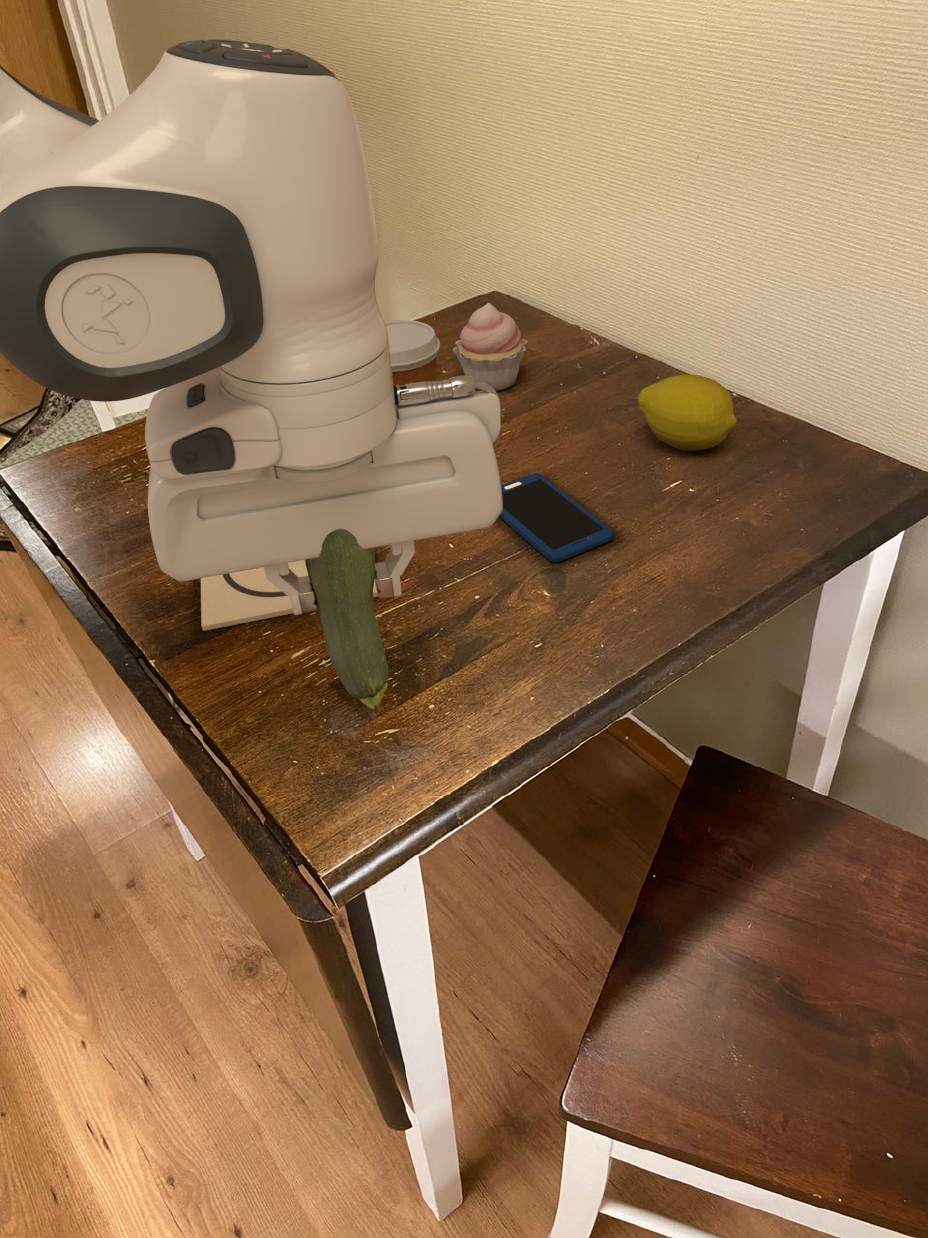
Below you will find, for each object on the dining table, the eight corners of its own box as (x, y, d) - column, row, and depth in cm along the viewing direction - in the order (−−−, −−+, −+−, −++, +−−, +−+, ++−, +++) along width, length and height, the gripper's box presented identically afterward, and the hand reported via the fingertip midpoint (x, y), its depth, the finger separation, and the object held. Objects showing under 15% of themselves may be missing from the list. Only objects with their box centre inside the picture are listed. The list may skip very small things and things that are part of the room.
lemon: (746, 444, 97) (757, 376, 92) (710, 475, 93) (720, 405, 88) (661, 417, 103) (666, 352, 98) (623, 445, 98) (627, 378, 93)
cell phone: (537, 476, 94) (536, 470, 94) (617, 539, 85) (617, 532, 84) (478, 498, 92) (477, 492, 91) (554, 565, 82) (554, 559, 82)
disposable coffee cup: (351, 447, 102) (335, 348, 94) (389, 410, 108) (377, 314, 101) (425, 460, 99) (415, 358, 91) (460, 421, 105) (453, 323, 97)
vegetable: (326, 705, 61) (261, 450, 48) (359, 666, 64) (307, 414, 51) (380, 724, 59) (328, 465, 46) (412, 682, 62) (371, 427, 49)
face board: (203, 631, 78) (200, 625, 78) (201, 532, 90) (199, 526, 90) (379, 596, 81) (378, 590, 80) (355, 504, 93) (354, 498, 92)
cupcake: (538, 369, 114) (537, 292, 108) (513, 401, 108) (511, 322, 101) (471, 361, 117) (467, 286, 111) (444, 392, 111) (437, 314, 104)
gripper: (485, 348, 51) (492, 543, 60) (121, 401, 48) (185, 599, 57) (515, 395, 46) (517, 599, 55) (114, 457, 43) (185, 663, 52)
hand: (346, 600), depth 56 cm, fingers closed on vegetable, 4 cm apart
